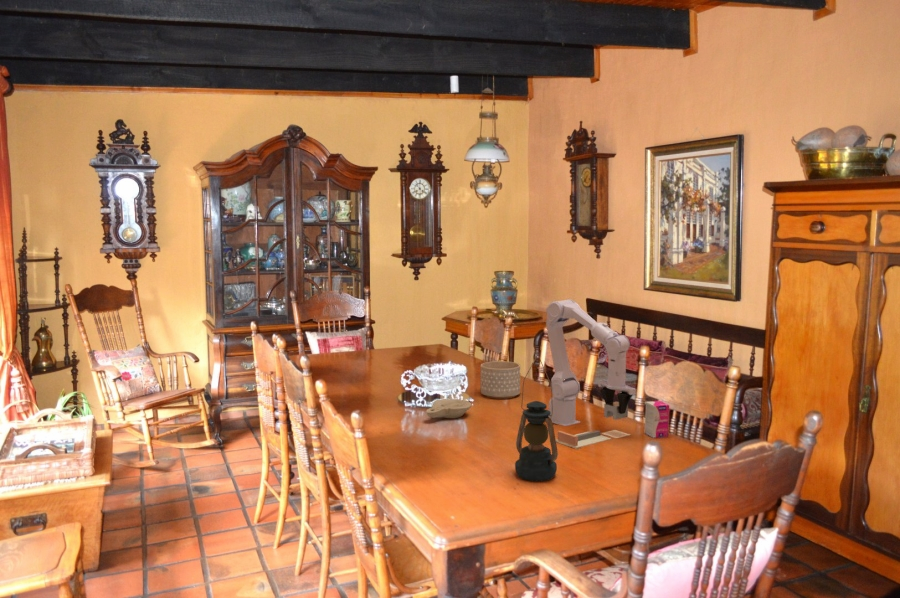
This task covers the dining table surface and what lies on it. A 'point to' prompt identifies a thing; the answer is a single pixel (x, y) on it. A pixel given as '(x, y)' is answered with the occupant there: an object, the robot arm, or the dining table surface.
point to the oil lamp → (448, 408)
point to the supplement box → (656, 419)
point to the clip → (614, 411)
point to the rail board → (580, 439)
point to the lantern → (536, 442)
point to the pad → (615, 434)
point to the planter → (500, 379)
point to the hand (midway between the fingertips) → (615, 411)
